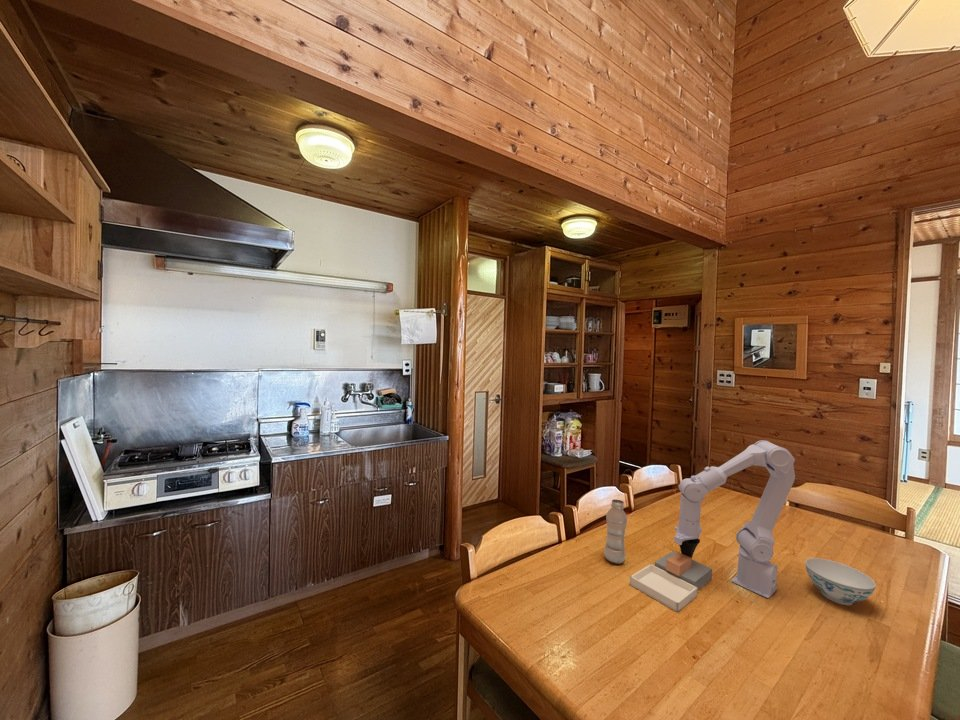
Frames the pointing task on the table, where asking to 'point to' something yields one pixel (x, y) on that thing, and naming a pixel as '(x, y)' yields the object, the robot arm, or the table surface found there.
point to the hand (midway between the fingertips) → (686, 560)
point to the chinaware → (839, 581)
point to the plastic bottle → (615, 532)
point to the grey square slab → (689, 572)
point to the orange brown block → (684, 559)
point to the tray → (664, 587)
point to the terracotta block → (675, 565)
